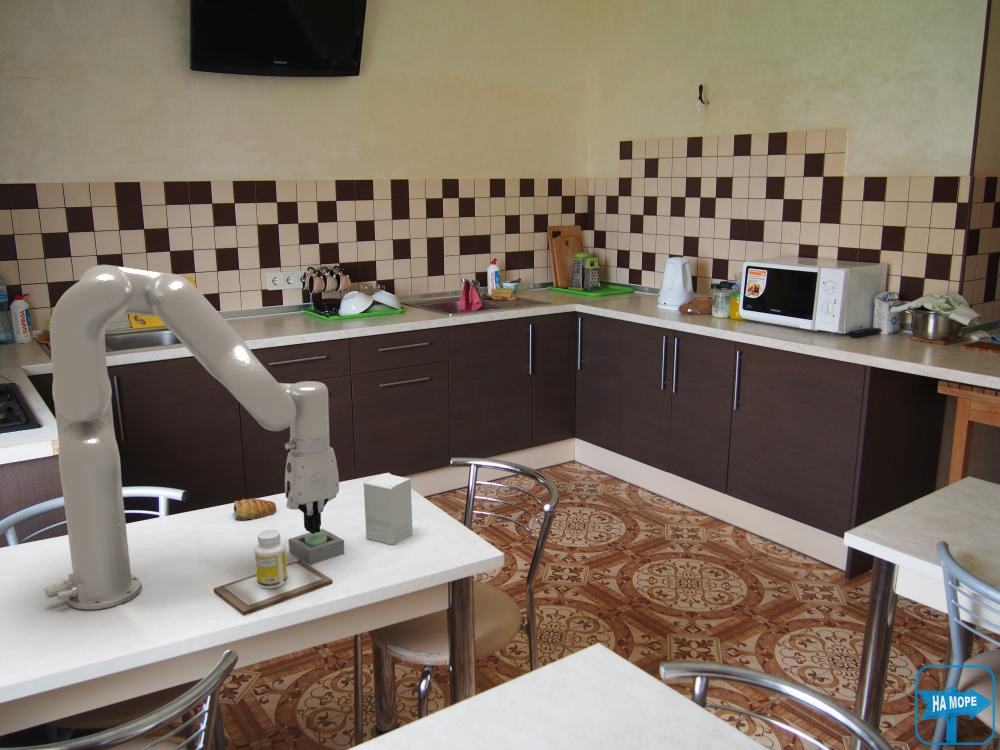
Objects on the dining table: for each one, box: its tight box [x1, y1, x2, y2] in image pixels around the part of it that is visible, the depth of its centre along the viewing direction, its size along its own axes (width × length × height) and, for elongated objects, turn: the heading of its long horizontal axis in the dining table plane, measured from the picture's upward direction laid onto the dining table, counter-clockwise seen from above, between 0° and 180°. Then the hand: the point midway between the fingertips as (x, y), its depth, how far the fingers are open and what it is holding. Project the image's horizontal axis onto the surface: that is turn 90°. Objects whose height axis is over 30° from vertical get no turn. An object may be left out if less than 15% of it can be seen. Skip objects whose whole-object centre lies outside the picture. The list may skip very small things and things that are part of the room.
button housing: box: [288, 528, 345, 566], centre depth 175 cm, size 8×8×3 cm
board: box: [213, 559, 334, 616], centre depth 160 cm, size 18×12×1 cm, turn 133°
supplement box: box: [363, 473, 413, 545], centre depth 182 cm, size 7×7×13 cm
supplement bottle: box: [254, 529, 287, 589], centre depth 159 cm, size 5×5×10 cm
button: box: [305, 532, 327, 547], centre depth 175 cm, size 4×4×2 cm
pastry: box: [233, 498, 277, 521], centre depth 196 cm, size 9×7×4 cm
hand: (312, 530), depth 174 cm, fingers closed
